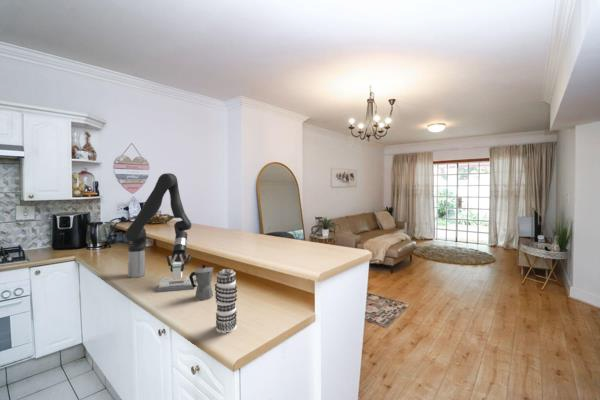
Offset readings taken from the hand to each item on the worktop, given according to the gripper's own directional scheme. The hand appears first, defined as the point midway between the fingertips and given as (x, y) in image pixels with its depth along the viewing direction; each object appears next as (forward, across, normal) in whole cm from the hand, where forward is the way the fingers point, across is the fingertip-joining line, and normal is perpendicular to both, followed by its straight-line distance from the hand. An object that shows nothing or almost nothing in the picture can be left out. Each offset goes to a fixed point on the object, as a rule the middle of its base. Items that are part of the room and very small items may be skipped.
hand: (176, 271), depth 158 cm
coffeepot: (+20, +16, -5) cm, 26 cm away
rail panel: (+6, 0, +8) cm, 10 cm away
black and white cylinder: (+45, +29, -30) cm, 61 cm away
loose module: (+2, 0, +5) cm, 5 cm away
